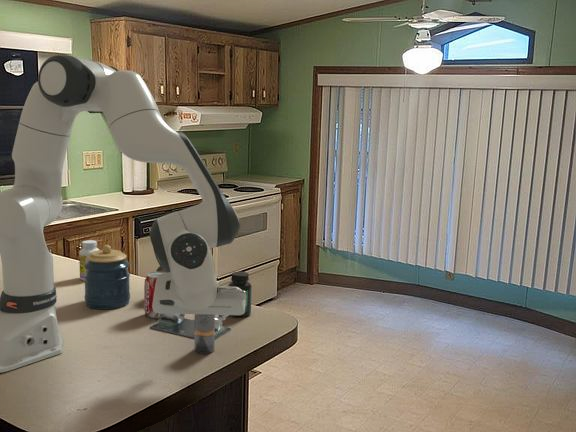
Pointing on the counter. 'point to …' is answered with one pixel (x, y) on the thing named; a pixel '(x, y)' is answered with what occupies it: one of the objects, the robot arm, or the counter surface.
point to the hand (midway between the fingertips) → (201, 316)
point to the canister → (107, 279)
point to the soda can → (150, 293)
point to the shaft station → (184, 326)
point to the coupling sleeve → (204, 333)
